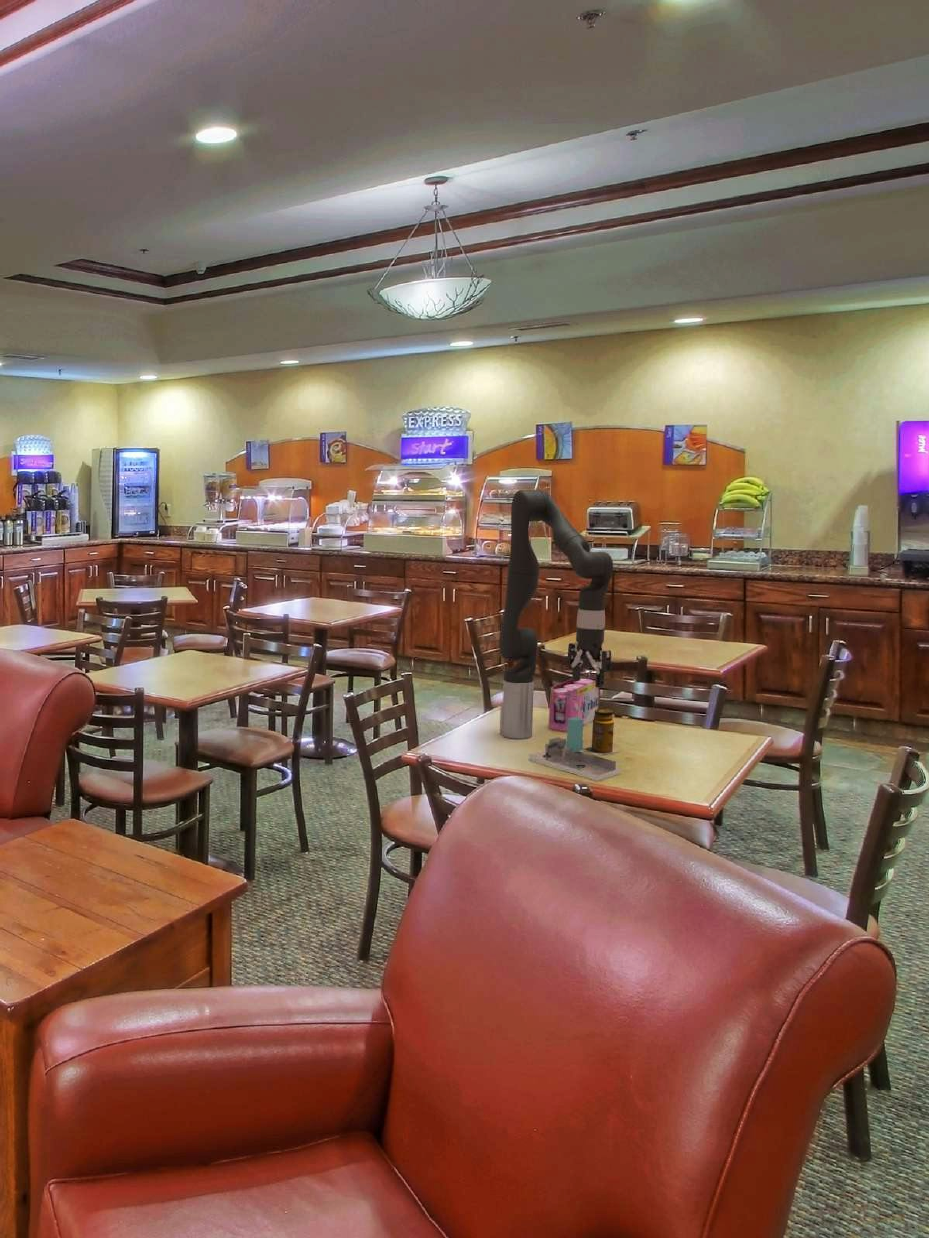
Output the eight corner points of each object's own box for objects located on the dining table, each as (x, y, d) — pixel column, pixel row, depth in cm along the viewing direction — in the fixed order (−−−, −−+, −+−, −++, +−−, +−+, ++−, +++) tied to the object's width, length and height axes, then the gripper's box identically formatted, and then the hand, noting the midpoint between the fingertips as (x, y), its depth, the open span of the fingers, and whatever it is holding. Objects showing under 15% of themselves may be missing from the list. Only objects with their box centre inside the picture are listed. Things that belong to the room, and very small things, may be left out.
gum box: (568, 733, 277) (570, 691, 275) (545, 730, 281) (547, 688, 279) (598, 718, 297) (600, 678, 295) (576, 714, 301) (578, 675, 299)
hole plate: (528, 760, 248) (529, 741, 247) (552, 753, 254) (552, 735, 254) (597, 781, 231) (598, 760, 230) (620, 773, 237) (621, 753, 237)
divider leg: (558, 758, 243) (559, 720, 242) (573, 754, 248) (575, 716, 246) (567, 761, 241) (568, 722, 239) (582, 756, 246) (583, 718, 244)
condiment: (618, 752, 258) (620, 711, 256) (596, 756, 253) (598, 715, 252) (601, 745, 264) (603, 706, 262) (580, 749, 259) (581, 709, 258)
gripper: (562, 622, 243) (559, 680, 246) (600, 630, 232) (597, 691, 235) (581, 620, 248) (578, 677, 251) (619, 628, 237) (616, 687, 240)
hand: (587, 683), depth 243 cm, fingers open, 8 cm apart
